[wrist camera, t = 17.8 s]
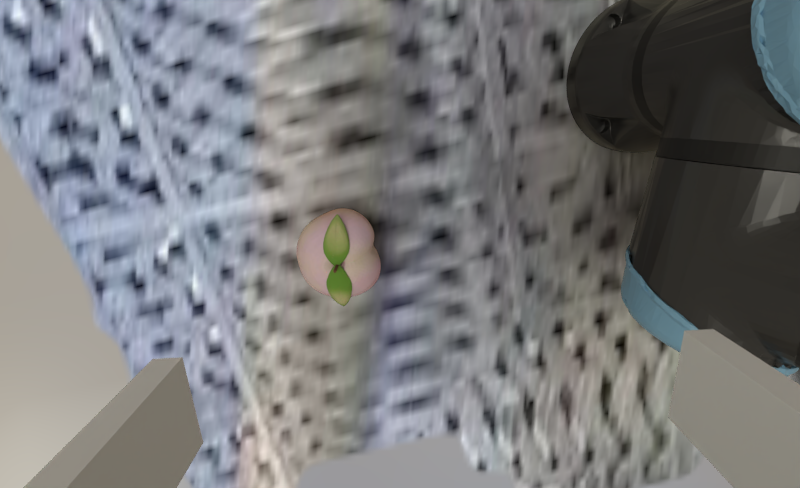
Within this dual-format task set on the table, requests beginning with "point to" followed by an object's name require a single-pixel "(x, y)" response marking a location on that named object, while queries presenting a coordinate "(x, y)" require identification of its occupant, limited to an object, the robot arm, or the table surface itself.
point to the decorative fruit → (339, 254)
